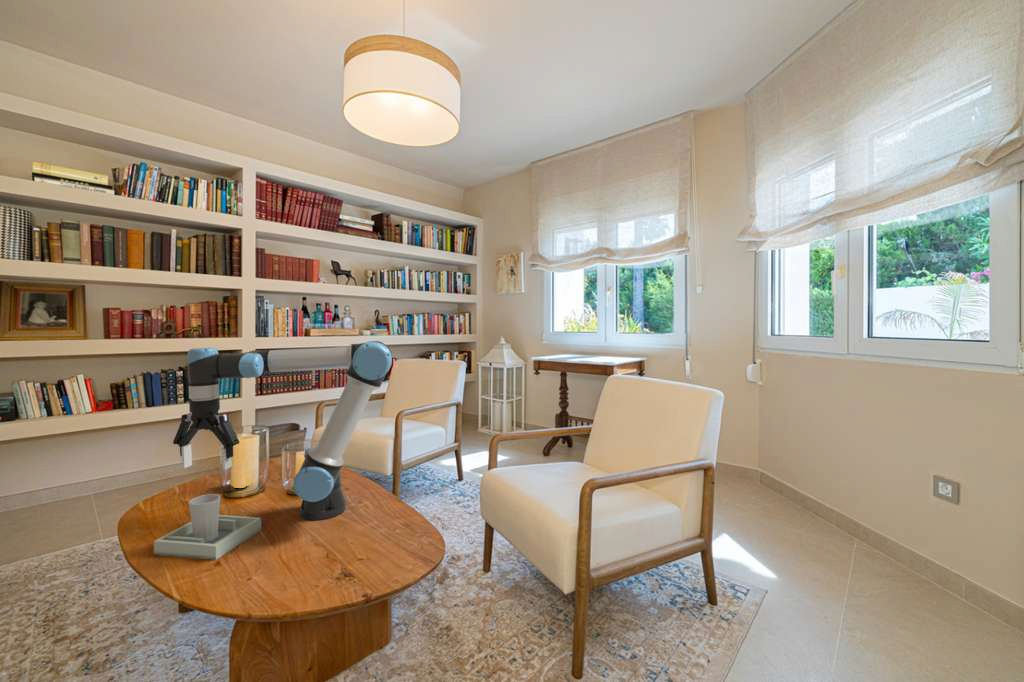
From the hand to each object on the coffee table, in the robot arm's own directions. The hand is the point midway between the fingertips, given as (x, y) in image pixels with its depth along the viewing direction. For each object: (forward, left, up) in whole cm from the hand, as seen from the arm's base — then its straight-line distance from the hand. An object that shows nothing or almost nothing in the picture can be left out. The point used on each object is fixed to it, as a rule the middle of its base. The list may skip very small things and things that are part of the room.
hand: (207, 467), depth 133 cm
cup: (+1, +1, -22) cm, 22 cm away
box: (-1, +1, -23) cm, 23 cm away
